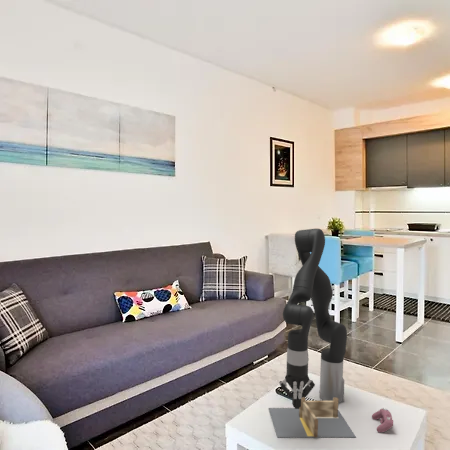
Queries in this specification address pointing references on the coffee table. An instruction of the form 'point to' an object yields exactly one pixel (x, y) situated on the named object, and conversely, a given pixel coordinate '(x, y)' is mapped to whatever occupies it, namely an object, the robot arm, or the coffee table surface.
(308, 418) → the fence panel
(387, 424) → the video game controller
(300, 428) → the card
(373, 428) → the coffee table surface
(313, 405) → the wooden toy fence
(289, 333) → the robot arm
